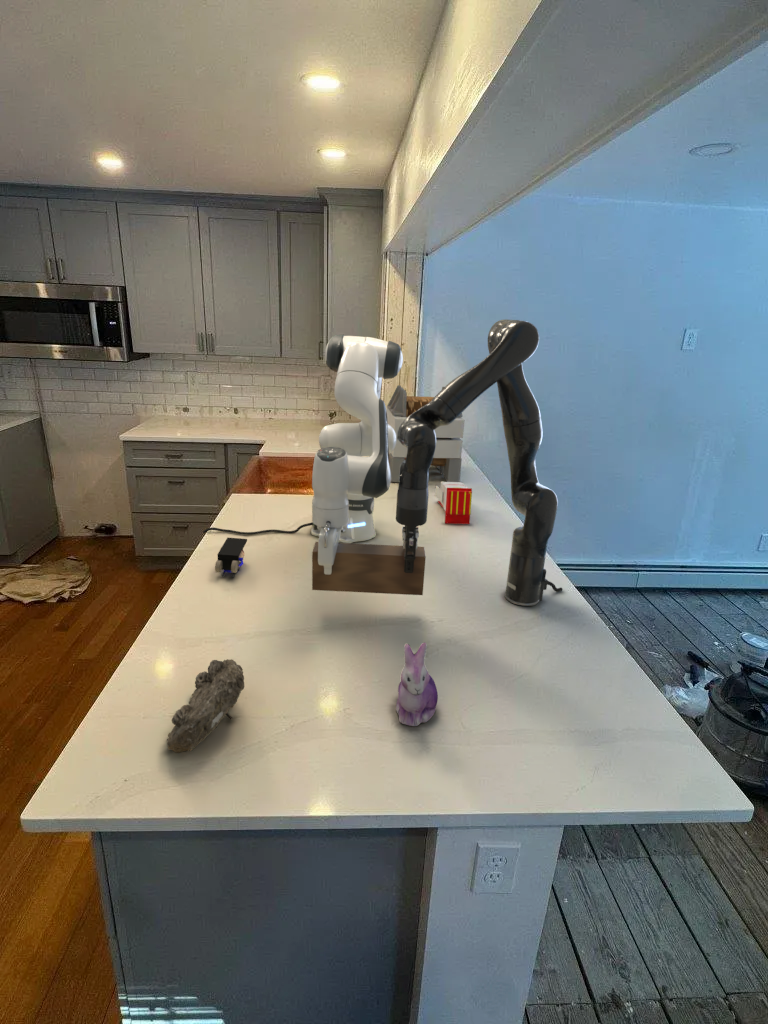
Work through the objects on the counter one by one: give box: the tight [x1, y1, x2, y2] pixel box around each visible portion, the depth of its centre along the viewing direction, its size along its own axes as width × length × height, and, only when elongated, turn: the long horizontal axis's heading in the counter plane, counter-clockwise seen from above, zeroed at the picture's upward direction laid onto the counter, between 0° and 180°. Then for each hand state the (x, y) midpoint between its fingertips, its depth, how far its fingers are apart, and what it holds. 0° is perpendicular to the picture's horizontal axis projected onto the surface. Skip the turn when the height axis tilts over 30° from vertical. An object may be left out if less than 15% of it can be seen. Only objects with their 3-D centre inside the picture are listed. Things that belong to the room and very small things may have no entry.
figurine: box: [395, 642, 439, 727], centre depth 109 cm, size 9×10×15 cm
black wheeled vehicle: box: [214, 537, 248, 578], centre depth 166 cm, size 7×8×15 cm
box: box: [311, 541, 427, 596], centre depth 142 cm, size 28×6×10 cm, turn 89°
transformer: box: [386, 384, 465, 483], centre depth 268 cm, size 34×33×41 cm
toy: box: [434, 481, 473, 525], centre depth 222 cm, size 12×13×30 cm
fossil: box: [166, 658, 245, 754], centre depth 106 cm, size 22×10×15 cm
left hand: (329, 566), depth 142 cm, fingers closed on box, 6 cm apart
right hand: (408, 566), depth 142 cm, fingers closed on box, 6 cm apart
